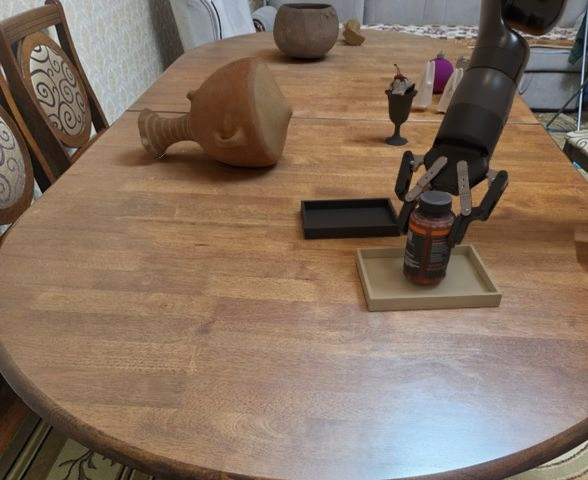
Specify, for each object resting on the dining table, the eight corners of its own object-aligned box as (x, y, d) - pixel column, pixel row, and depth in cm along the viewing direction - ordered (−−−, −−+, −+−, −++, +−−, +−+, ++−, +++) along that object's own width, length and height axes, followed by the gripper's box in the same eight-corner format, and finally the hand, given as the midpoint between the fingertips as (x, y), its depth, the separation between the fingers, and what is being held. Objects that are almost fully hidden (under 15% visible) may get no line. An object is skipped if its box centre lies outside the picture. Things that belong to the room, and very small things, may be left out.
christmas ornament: (422, 86, 151) (427, 45, 144) (452, 88, 149) (459, 47, 142) (417, 94, 145) (422, 52, 138) (448, 96, 143) (455, 54, 136)
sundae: (378, 136, 120) (385, 60, 111) (409, 136, 120) (418, 60, 111) (381, 146, 115) (388, 69, 106) (413, 146, 115) (423, 68, 106)
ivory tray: (469, 255, 81) (472, 243, 80) (499, 306, 71) (502, 294, 70) (355, 259, 80) (356, 247, 79) (369, 311, 70) (370, 299, 69)
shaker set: (407, 112, 133) (413, 62, 126) (408, 107, 136) (414, 58, 129) (457, 115, 131) (466, 64, 124) (457, 110, 134) (466, 60, 127)
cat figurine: (345, 27, 186) (343, 10, 192) (338, 47, 191) (336, 30, 198) (367, 34, 188) (365, 17, 194) (360, 54, 193) (357, 37, 200)
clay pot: (269, 52, 184) (267, 0, 175) (329, 49, 187) (331, -3, 178) (279, 67, 169) (278, 11, 159) (345, 64, 171) (347, 8, 162)
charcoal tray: (388, 208, 93) (389, 197, 92) (400, 236, 85) (401, 225, 84) (300, 210, 93) (300, 200, 91) (304, 239, 85) (304, 228, 84)
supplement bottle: (454, 274, 75) (471, 196, 68) (429, 292, 72) (443, 212, 64) (418, 258, 78) (430, 182, 71) (393, 274, 75) (402, 197, 68)
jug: (278, 126, 90) (112, 140, 96) (300, 186, 108) (159, 194, 114) (285, 25, 94) (126, 44, 101) (305, 99, 112) (169, 111, 119)
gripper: (417, 92, 69) (367, 214, 69) (533, 110, 63) (478, 244, 63) (427, 123, 76) (381, 235, 76) (532, 142, 70) (483, 263, 70)
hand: (425, 238), depth 70 cm, fingers closed on supplement bottle, 6 cm apart
